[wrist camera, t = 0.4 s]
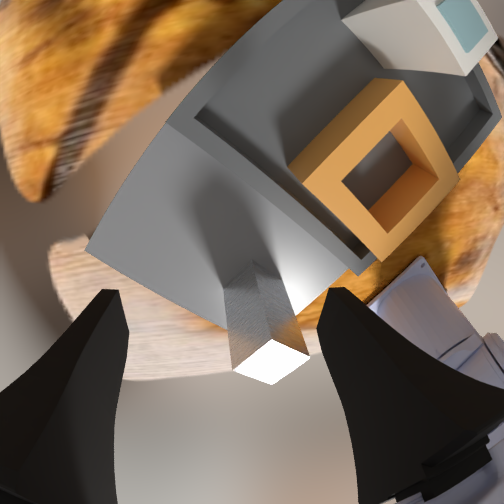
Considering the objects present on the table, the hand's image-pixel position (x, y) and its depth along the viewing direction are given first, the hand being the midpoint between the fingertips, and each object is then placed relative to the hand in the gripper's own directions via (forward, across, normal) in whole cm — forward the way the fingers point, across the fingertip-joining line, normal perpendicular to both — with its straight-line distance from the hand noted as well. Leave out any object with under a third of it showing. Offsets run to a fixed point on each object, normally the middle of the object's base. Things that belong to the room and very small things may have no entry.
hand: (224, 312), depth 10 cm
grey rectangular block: (+9, -3, +6) cm, 11 cm away
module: (+9, -9, -13) cm, 18 cm away
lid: (+10, 0, +4) cm, 11 cm away
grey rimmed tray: (+10, -9, -8) cm, 16 cm away
